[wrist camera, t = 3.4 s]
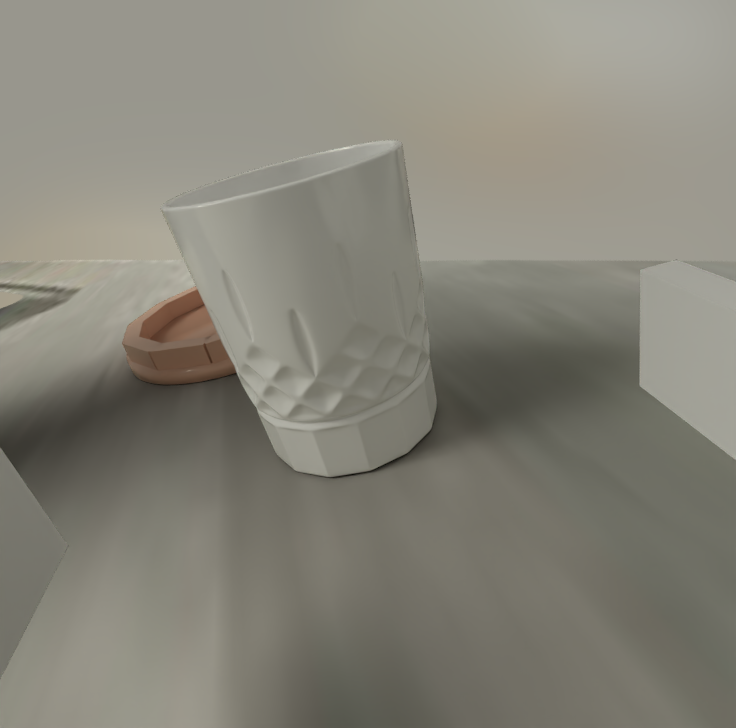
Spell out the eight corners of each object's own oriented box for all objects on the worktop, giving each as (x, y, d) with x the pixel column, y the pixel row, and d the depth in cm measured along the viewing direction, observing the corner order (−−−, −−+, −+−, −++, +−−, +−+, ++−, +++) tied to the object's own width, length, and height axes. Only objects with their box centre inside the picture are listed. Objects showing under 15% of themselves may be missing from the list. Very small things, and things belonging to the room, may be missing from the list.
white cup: (262, 404, 24) (178, 189, 20) (421, 356, 25) (374, 136, 20) (262, 518, 17) (134, 225, 13) (484, 449, 18) (434, 143, 13)
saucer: (84, 394, 31) (68, 365, 30) (197, 301, 42) (188, 278, 42) (303, 370, 27) (291, 336, 26) (360, 275, 38) (354, 249, 38)
